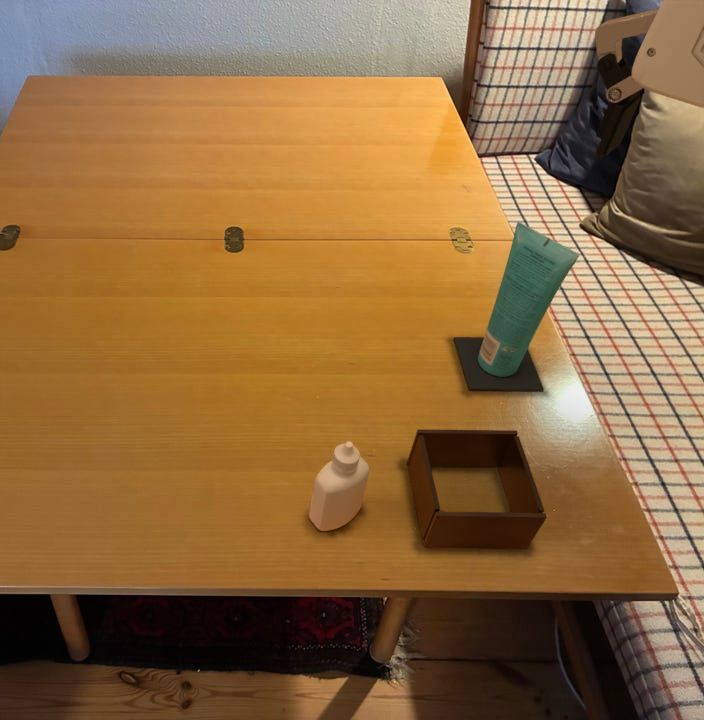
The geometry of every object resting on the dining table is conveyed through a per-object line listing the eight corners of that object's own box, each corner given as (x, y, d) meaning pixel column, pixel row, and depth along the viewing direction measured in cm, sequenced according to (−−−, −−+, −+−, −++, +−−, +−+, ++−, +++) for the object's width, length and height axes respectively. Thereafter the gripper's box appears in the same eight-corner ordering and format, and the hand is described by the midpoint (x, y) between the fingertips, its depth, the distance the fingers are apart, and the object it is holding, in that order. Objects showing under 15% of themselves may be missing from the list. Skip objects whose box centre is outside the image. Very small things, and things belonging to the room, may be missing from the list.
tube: (533, 368, 86) (591, 243, 72) (513, 389, 84) (569, 263, 70) (481, 339, 90) (526, 214, 76) (460, 357, 88) (503, 232, 74)
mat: (522, 339, 91) (523, 337, 90) (543, 391, 84) (544, 389, 84) (453, 339, 91) (453, 336, 90) (468, 390, 84) (469, 388, 84)
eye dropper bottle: (305, 496, 74) (315, 426, 65) (357, 494, 74) (374, 424, 66) (310, 533, 71) (322, 465, 62) (364, 530, 71) (384, 462, 63)
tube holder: (500, 463, 77) (517, 430, 73) (527, 548, 70) (547, 517, 65) (406, 462, 77) (417, 429, 73) (423, 547, 70) (436, 515, 66)
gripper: (631, -114, 41) (538, 150, 53) (1000, -52, 33) (788, 244, 45) (678, -136, 45) (580, 116, 57) (1020, -85, 36) (819, 197, 49)
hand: (672, 172), depth 51 cm, fingers open, 9 cm apart
